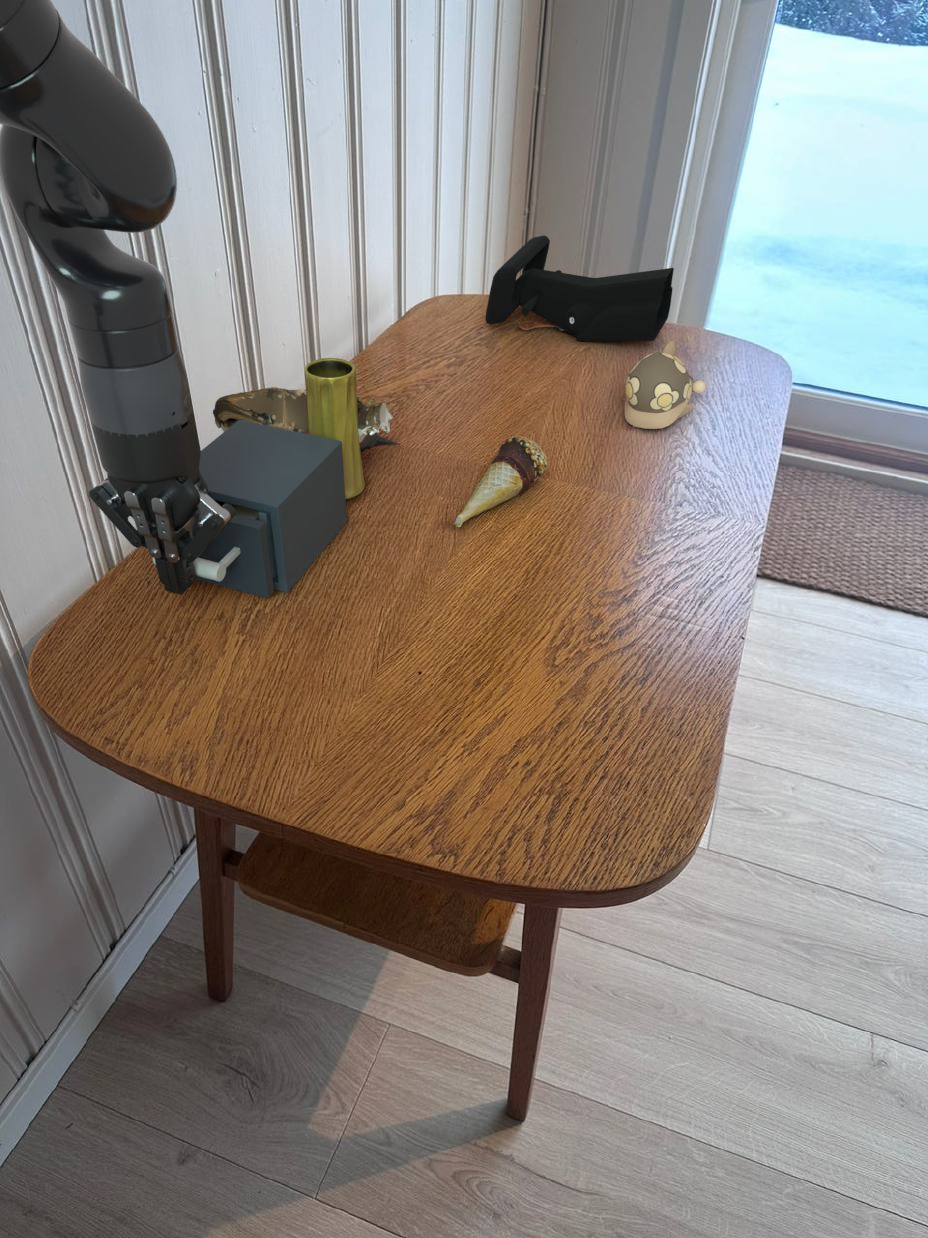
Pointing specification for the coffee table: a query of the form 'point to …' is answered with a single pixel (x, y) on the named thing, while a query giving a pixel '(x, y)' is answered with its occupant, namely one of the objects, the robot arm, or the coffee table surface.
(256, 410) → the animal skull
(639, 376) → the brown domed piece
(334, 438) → the vase
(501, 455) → the ice cream cone
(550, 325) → the knife
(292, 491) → the cabinet
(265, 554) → the drawer
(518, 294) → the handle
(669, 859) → the coffee table surface
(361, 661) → the coffee table surface
